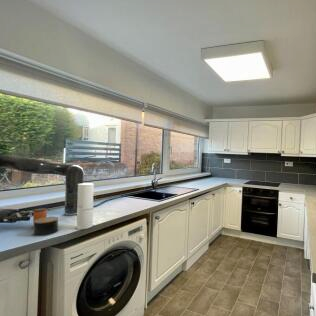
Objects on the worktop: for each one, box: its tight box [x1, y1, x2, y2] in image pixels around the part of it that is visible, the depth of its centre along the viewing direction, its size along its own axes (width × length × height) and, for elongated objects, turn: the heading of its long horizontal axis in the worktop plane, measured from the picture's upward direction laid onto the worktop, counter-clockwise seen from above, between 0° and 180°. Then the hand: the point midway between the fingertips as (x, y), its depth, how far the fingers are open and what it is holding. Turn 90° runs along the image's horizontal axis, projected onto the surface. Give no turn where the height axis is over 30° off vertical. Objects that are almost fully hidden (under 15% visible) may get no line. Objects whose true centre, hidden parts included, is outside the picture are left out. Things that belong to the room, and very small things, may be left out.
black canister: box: [33, 216, 59, 237], centre depth 103 cm, size 9×9×7 cm
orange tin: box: [32, 207, 48, 229], centre depth 110 cm, size 5×5×10 cm
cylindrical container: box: [76, 182, 95, 230], centre depth 113 cm, size 7×7×25 cm
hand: (36, 216), depth 110 cm, fingers open, 8 cm apart
